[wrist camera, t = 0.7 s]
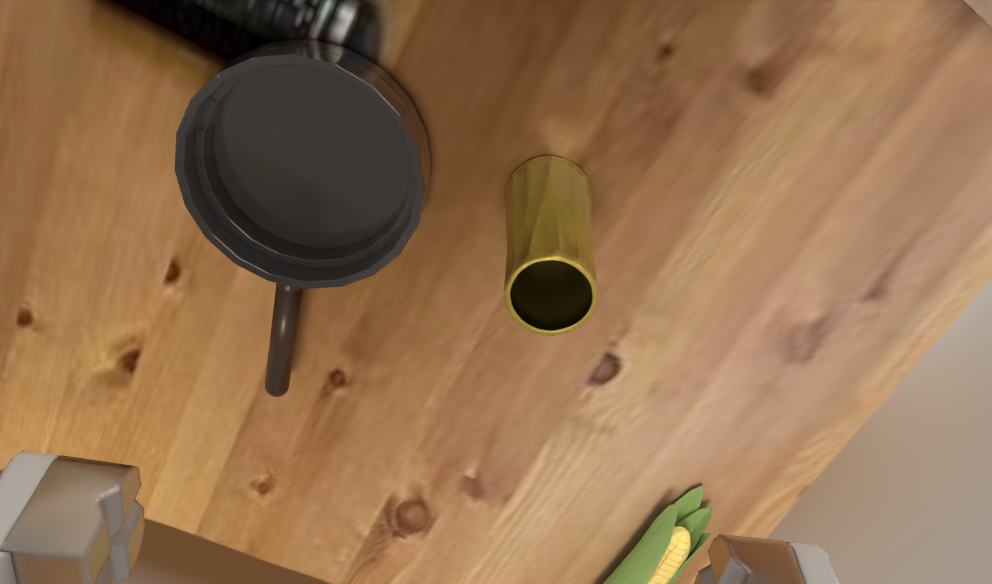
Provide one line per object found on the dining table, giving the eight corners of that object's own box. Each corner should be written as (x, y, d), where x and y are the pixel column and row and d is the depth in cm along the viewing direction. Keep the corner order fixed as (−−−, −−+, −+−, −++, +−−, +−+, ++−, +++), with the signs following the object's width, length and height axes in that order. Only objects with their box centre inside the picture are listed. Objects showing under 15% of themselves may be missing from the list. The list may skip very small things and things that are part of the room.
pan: (205, 10, 55) (180, 27, 51) (452, 70, 57) (445, 90, 53) (193, 231, 63) (170, 259, 59) (409, 279, 65) (400, 310, 61)
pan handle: (281, 265, 61) (274, 278, 60) (306, 271, 62) (300, 283, 60) (267, 384, 67) (261, 398, 65) (290, 389, 67) (284, 403, 65)
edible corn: (567, 614, 82) (569, 655, 78) (674, 471, 73) (682, 509, 69) (615, 631, 83) (619, 672, 79) (727, 491, 74) (738, 531, 70)
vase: (528, 140, 59) (526, 231, 46) (607, 177, 60) (625, 276, 47) (490, 213, 62) (478, 317, 49) (566, 247, 63) (573, 358, 50)
